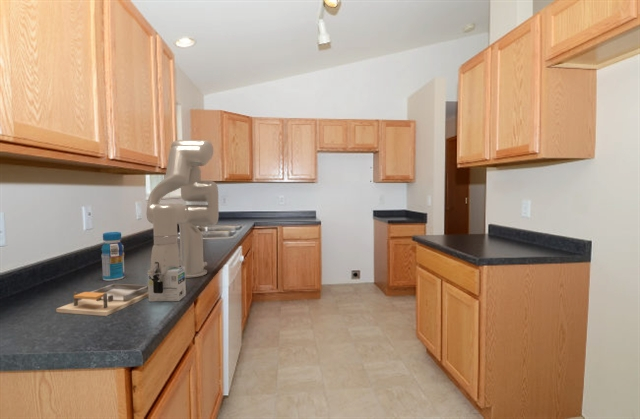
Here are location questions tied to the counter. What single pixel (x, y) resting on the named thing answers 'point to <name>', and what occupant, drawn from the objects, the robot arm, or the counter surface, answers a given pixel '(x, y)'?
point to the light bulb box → (169, 286)
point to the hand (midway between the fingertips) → (167, 288)
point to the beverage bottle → (112, 257)
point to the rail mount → (107, 300)
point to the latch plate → (89, 295)
